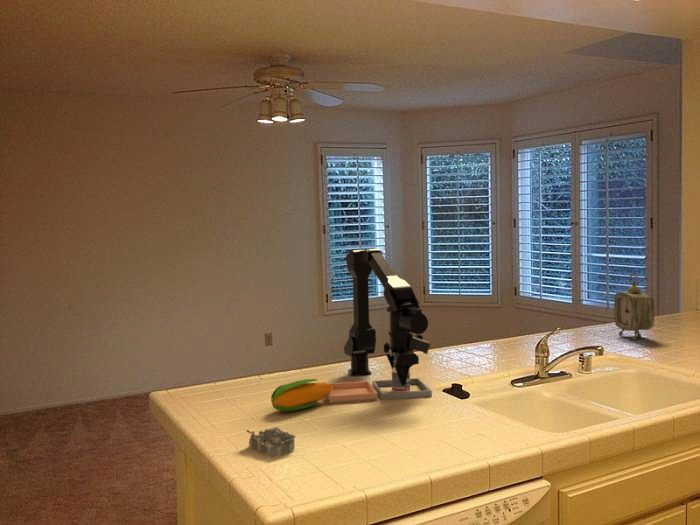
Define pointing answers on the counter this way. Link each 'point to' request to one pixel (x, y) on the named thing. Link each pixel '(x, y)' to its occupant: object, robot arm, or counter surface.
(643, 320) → the tabletop clock
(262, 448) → the egg carton
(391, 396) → the grey frame
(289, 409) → the corn
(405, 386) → the pill bottle
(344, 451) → the counter surface
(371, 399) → the terracotta dish
